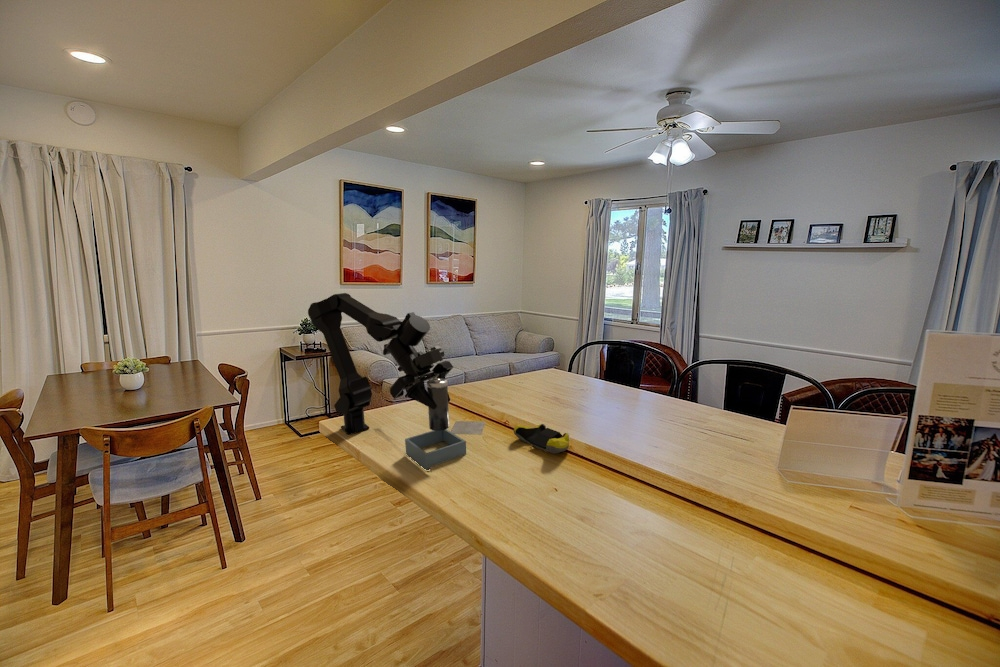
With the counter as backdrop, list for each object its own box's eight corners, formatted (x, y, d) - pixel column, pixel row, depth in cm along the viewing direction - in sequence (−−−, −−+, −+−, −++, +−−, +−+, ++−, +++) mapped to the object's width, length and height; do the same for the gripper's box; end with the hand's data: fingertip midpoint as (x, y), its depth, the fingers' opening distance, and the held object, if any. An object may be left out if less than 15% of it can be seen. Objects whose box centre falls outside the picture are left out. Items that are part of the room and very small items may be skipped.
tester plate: (449, 436, 123) (449, 433, 123) (456, 424, 132) (455, 421, 131) (481, 437, 122) (481, 434, 122) (485, 424, 131) (485, 421, 131)
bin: (406, 454, 113) (404, 438, 112) (444, 442, 119) (443, 427, 119) (426, 471, 104) (425, 454, 103) (466, 457, 111) (465, 441, 110)
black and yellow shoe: (552, 464, 106) (578, 451, 113) (552, 443, 105) (578, 430, 112) (510, 445, 117) (535, 433, 124) (509, 425, 116) (535, 415, 123)
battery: (429, 423, 114) (426, 377, 111) (448, 422, 115) (446, 375, 112) (429, 431, 109) (427, 382, 106) (450, 429, 110) (447, 381, 107)
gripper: (395, 344, 101) (434, 398, 98) (446, 331, 117) (481, 376, 113) (374, 373, 107) (410, 424, 104) (425, 356, 123) (458, 400, 119)
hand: (442, 405), depth 110 cm, fingers closed on battery, 5 cm apart
